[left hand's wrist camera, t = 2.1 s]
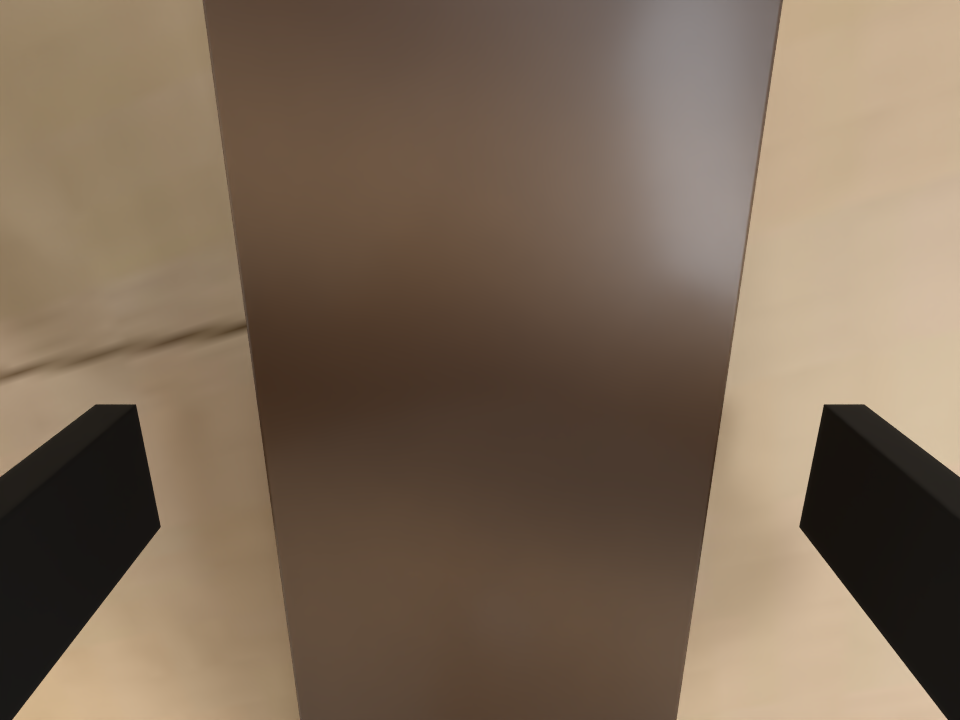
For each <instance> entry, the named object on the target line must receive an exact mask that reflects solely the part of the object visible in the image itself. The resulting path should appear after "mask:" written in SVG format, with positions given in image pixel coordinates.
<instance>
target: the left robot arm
mask: <svg viewBox="0 0 960 720" xmlns="http://www.w3.org/2000/svg"><path fill="white" fill-rule="evenodd" d="M160 527H161V526H160V521H159V516H158V511H157V506H156V501H155V496H154V491H153V486H152V481H151V477H150V472H149V467H148V462H147V457H146V452H145V447H144V442H143V437H142V432H141V427H140V422H139V417H138V412H137V407H136V405H95V406H93V407H92V408H91V409H89V410H88V411H87V412H85V413H84V414H83V415H81V416H80V417H79V418H77V419H76V420H75V421H73V422H72V423H71V424H70V425H68V426H67V427H66V428H64V429H63V430H62V431H60V432H59V433H58V434H56V435H55V436H54V437H52V438H51V439H50V440H49V441H47V442H46V443H45V444H43V445H42V446H41V447H39V448H38V449H37V450H35V451H34V452H33V453H31V454H30V455H29V456H27V457H26V458H25V459H24V460H22V461H21V462H20V463H18V464H17V465H16V466H14V467H13V468H12V469H10V470H9V471H8V472H6V473H5V474H4V475H3V476H1V477H0V720H12V719H13V718H14V717H15V715H16V714H17V713H18V712H19V710H20V709H21V708H22V706H23V705H24V704H25V702H26V701H27V700H28V699H29V697H30V696H31V695H32V693H33V692H34V691H35V689H36V688H37V687H38V686H39V684H40V683H41V682H42V680H43V679H44V678H45V676H46V675H47V674H48V673H49V671H50V670H51V669H52V667H53V666H54V665H55V663H56V662H57V661H58V660H59V658H60V657H61V656H62V654H63V653H64V652H65V650H66V649H67V648H68V647H69V645H70V644H71V643H72V641H73V640H74V639H75V637H76V636H77V635H78V634H79V632H80V631H81V630H82V628H83V627H84V626H85V624H86V623H87V622H88V621H89V619H90V618H91V617H92V615H93V614H94V613H95V612H96V610H97V609H98V608H99V606H100V605H101V604H102V602H103V601H104V600H105V599H106V597H107V596H108V595H109V593H110V592H111V591H112V589H113V588H114V587H115V586H116V584H117V583H118V582H119V580H120V579H121V578H122V576H123V575H124V574H125V573H126V571H127V570H128V569H129V567H130V566H131V565H132V563H133V562H134V561H135V560H136V558H137V557H138V556H139V554H140V553H141V552H142V550H143V549H144V548H145V547H146V545H147V544H148V543H149V541H150V540H151V539H152V537H153V536H154V535H155V534H156V532H157V531H158V530H159V528H160ZM799 527H800V528H801V530H802V531H803V532H804V534H805V535H806V536H807V537H808V539H809V540H810V541H811V543H812V544H813V545H814V547H815V548H816V549H817V550H818V552H819V553H820V554H821V556H822V557H823V558H824V560H825V561H826V562H827V563H828V565H829V566H830V567H831V569H832V570H833V571H834V573H835V574H836V575H837V576H838V578H839V579H840V580H841V582H842V583H843V584H844V586H845V587H846V588H847V589H848V591H849V592H850V593H851V595H852V596H853V597H854V599H855V600H856V601H857V602H858V604H859V605H860V606H861V608H862V609H863V610H864V612H865V613H866V614H867V615H868V617H869V618H870V619H871V621H872V622H873V623H874V625H875V626H876V627H877V628H878V630H879V631H880V632H881V634H882V635H883V636H884V637H885V639H886V640H887V641H888V643H889V644H890V645H891V647H892V648H893V649H894V650H895V652H896V653H897V654H898V656H899V657H900V658H901V660H902V661H903V662H904V663H905V665H906V666H907V667H908V669H909V670H910V671H911V673H912V674H913V675H914V676H915V678H916V679H917V680H918V682H919V683H920V684H921V686H922V687H923V688H924V689H925V691H926V692H927V693H928V695H929V696H930V697H931V699H932V700H933V701H934V702H935V704H936V705H937V706H938V708H939V709H940V710H941V712H942V713H943V714H944V715H945V717H946V718H947V719H948V720H960V477H959V476H957V475H956V474H955V473H954V472H952V471H951V470H950V469H948V468H947V467H946V466H944V465H943V464H942V463H940V462H939V461H938V460H936V459H935V458H934V457H933V456H931V455H930V454H929V453H927V452H926V451H925V450H923V449H922V448H921V447H919V446H918V445H917V444H915V443H914V442H913V441H911V440H910V439H909V438H908V437H906V436H905V435H904V434H902V433H901V432H900V431H898V430H897V429H896V428H894V427H893V426H892V425H890V424H889V423H888V422H887V421H885V420H884V419H883V418H881V417H880V416H879V415H877V414H876V413H875V412H873V411H872V410H871V409H869V408H868V407H867V406H865V405H824V407H823V412H822V417H821V422H820V427H819V432H818V437H817V442H816V447H815V452H814V457H813V462H812V467H811V472H810V477H809V481H808V486H807V491H806V496H805V501H804V506H803V511H802V516H801V521H800V526H799Z"/></svg>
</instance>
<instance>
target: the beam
mask: <svg viewBox="0 0 960 720" xmlns="http://www.w3.org/2000/svg"><path fill="white" fill-rule="evenodd" d="M782 2H783V0H203V6H204V14H205V21H206V28H207V36H208V43H209V51H210V58H211V65H212V73H213V80H214V87H215V95H216V102H217V110H218V117H219V124H220V132H221V139H222V146H223V154H224V161H225V169H226V176H227V183H228V191H229V198H230V205H231V213H232V220H233V228H234V235H235V242H236V250H237V257H238V264H239V272H240V279H241V287H242V294H243V301H244V309H245V316H246V323H247V331H248V338H249V346H250V353H251V360H252V368H253V375H254V382H255V390H256V397H257V405H258V412H259V419H260V427H261V434H262V442H263V449H264V456H265V464H266V471H267V478H268V486H269V493H270V501H271V508H272V515H273V523H274V530H275V537H276V545H277V552H278V560H279V567H280V574H281V582H282V589H283V596H284V604H285V611H286V619H287V626H288V633H289V641H290V648H291V655H292V663H293V670H294V678H295V685H296V692H297V700H298V707H299V714H300V720H676V719H677V712H678V705H679V698H680V692H681V685H682V678H683V671H684V665H685V658H686V651H687V644H688V638H689V631H690V624H691V617H692V610H693V604H694V597H695V590H696V583H697V577H698V570H699V563H700V556H701V550H702V543H703V536H704V529H705V523H706V516H707V509H708V502H709V496H710V489H711V482H712V475H713V469H714V462H715V455H716V448H717V442H718V435H719V428H720V421H721V414H722V408H723V401H724V394H725V387H726V381H727V374H728V367H729V360H730V354H731V347H732V340H733V333H734V327H735V320H736V313H737V306H738V300H739V293H740V286H741V279H742V273H743V266H744V259H745V252H746V246H747V239H748V232H749V225H750V218H751V212H752V205H753V198H754V191H755V185H756V178H757V171H758V164H759V158H760V151H761V144H762V137H763V131H764V124H765V117H766V110H767V104H768V97H769V90H770V83H771V77H772V70H773V63H774V56H775V50H776V43H777V36H778V29H779V23H780V16H781V9H782Z"/></svg>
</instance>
